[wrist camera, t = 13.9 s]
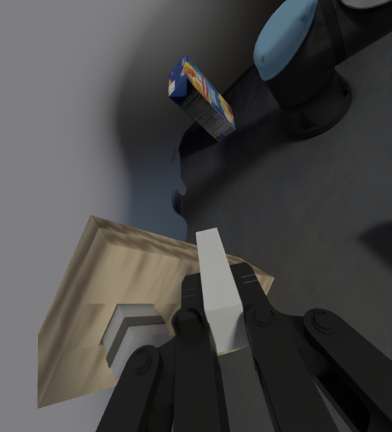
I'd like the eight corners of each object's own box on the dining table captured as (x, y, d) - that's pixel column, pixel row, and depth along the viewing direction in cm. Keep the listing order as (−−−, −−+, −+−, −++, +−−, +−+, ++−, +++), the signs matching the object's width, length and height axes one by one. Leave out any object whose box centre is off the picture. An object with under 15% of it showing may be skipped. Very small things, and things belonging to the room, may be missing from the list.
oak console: (212, 319, 52) (38, 334, 27) (240, 258, 52) (90, 215, 26) (241, 349, 45) (37, 408, 19) (274, 278, 44) (110, 244, 19)
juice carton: (215, 120, 78) (169, 73, 62) (231, 108, 73) (185, 54, 57) (218, 142, 72) (168, 97, 56) (235, 130, 68) (186, 77, 52)
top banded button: (137, 335, 25) (100, 340, 22) (152, 302, 25) (117, 302, 22) (154, 369, 21) (112, 381, 18) (171, 331, 21) (132, 336, 18)
